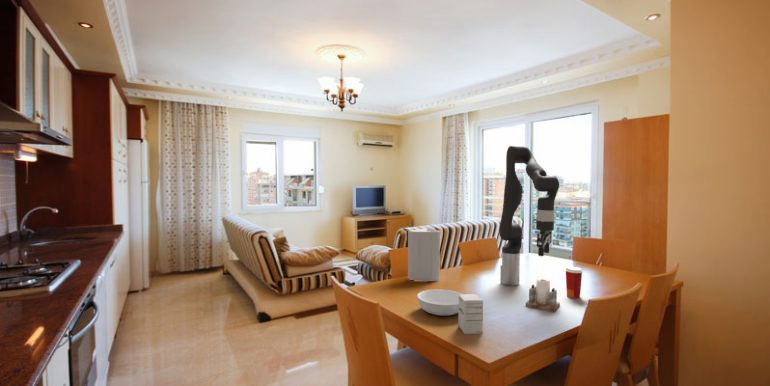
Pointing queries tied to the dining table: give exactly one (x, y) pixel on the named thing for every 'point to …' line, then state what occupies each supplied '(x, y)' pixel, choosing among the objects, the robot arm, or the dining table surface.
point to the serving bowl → (439, 301)
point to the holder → (550, 307)
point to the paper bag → (424, 254)
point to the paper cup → (573, 282)
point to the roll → (542, 291)
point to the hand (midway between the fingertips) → (543, 254)
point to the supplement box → (470, 314)
